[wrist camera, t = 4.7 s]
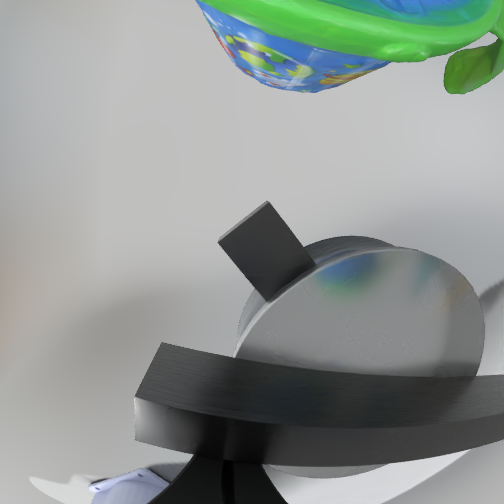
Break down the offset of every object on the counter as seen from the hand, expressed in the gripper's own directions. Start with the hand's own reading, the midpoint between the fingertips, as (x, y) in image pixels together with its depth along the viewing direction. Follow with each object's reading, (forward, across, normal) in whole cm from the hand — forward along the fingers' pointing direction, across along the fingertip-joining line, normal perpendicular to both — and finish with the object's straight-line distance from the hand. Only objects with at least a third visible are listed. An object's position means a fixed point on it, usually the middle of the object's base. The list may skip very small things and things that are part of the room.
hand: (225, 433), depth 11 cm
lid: (+1, -6, -3) cm, 7 cm away
